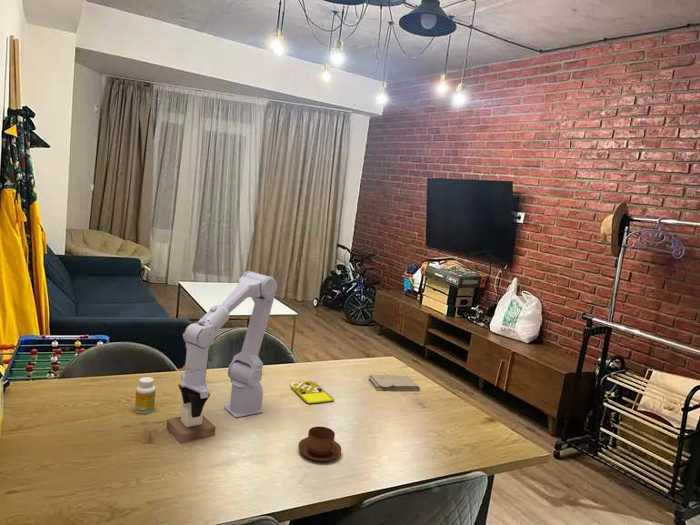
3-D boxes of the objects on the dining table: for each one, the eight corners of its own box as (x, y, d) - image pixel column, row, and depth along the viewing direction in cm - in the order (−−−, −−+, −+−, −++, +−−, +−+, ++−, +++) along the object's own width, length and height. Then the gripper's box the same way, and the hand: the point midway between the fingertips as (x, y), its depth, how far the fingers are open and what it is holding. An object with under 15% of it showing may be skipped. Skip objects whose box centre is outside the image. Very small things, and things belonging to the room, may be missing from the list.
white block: (195, 417, 149) (196, 401, 148) (201, 423, 146) (202, 407, 145) (180, 420, 146) (181, 404, 145) (186, 427, 143) (187, 410, 142)
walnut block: (199, 422, 153) (200, 412, 153) (214, 437, 146) (215, 427, 146) (166, 429, 147) (167, 419, 146) (180, 445, 139) (180, 434, 139)
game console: (336, 403, 179) (336, 399, 179) (307, 407, 173) (308, 402, 173) (312, 383, 194) (313, 379, 194) (285, 386, 189) (286, 382, 188)
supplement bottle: (147, 415, 152) (149, 384, 151) (130, 411, 153) (133, 380, 152) (157, 408, 158) (159, 378, 156) (141, 404, 159) (143, 374, 157)
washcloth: (366, 380, 204) (367, 372, 204) (407, 380, 210) (409, 373, 209) (376, 392, 193) (377, 384, 193) (420, 392, 198) (421, 385, 198)
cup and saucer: (346, 450, 148) (349, 429, 147) (331, 469, 136) (334, 448, 135) (308, 438, 151) (310, 418, 150) (290, 457, 140) (292, 435, 139)
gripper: (172, 359, 146) (168, 404, 148) (192, 377, 136) (188, 426, 138) (196, 356, 151) (192, 400, 153) (217, 374, 140) (213, 421, 142)
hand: (192, 412), depth 146 cm, fingers open, 5 cm apart
